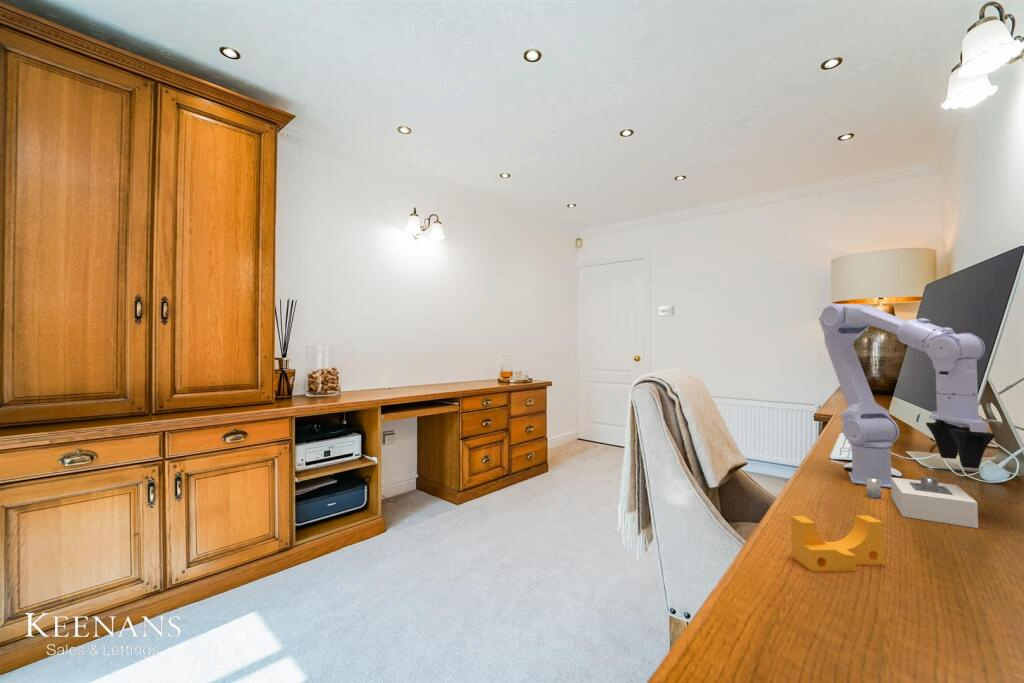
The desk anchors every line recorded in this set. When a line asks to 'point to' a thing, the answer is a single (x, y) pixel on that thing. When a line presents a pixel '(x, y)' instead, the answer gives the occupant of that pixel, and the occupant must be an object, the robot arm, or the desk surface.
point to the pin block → (934, 503)
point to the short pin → (873, 487)
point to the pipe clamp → (838, 545)
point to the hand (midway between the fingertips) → (958, 462)
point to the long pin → (929, 483)
